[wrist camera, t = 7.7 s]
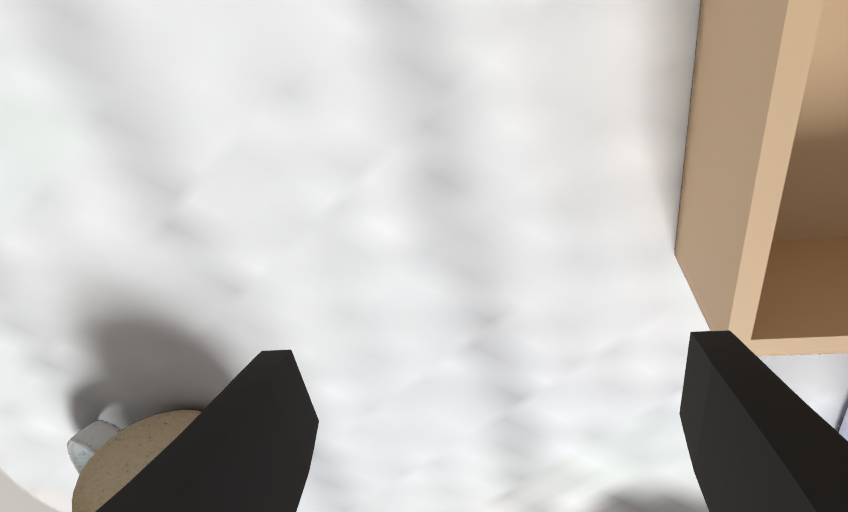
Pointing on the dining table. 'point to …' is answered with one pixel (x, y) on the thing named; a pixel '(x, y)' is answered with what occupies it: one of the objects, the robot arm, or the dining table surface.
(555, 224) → the dining table surface
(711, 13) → the carton
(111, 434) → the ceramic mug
